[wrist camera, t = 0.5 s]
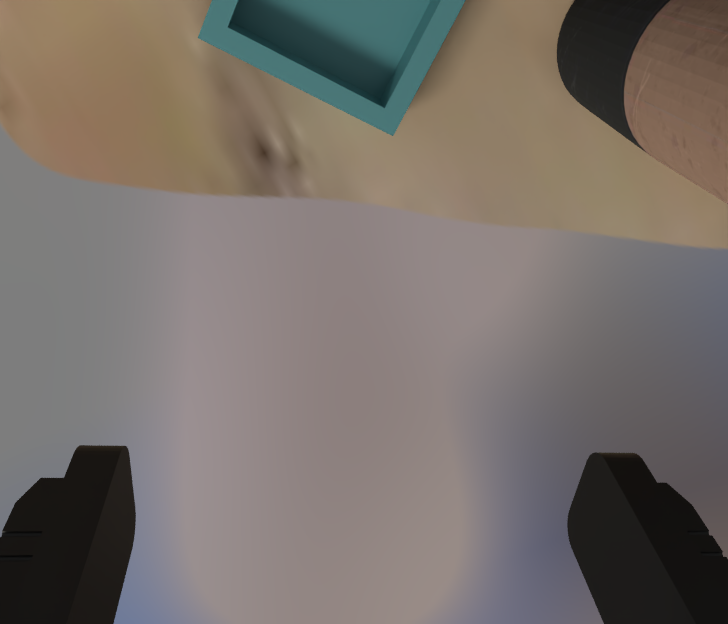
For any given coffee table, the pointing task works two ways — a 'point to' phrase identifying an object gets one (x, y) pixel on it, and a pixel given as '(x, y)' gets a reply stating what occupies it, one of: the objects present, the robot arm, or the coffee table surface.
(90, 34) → the coffee table surface
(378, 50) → the tray
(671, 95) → the travel mug
